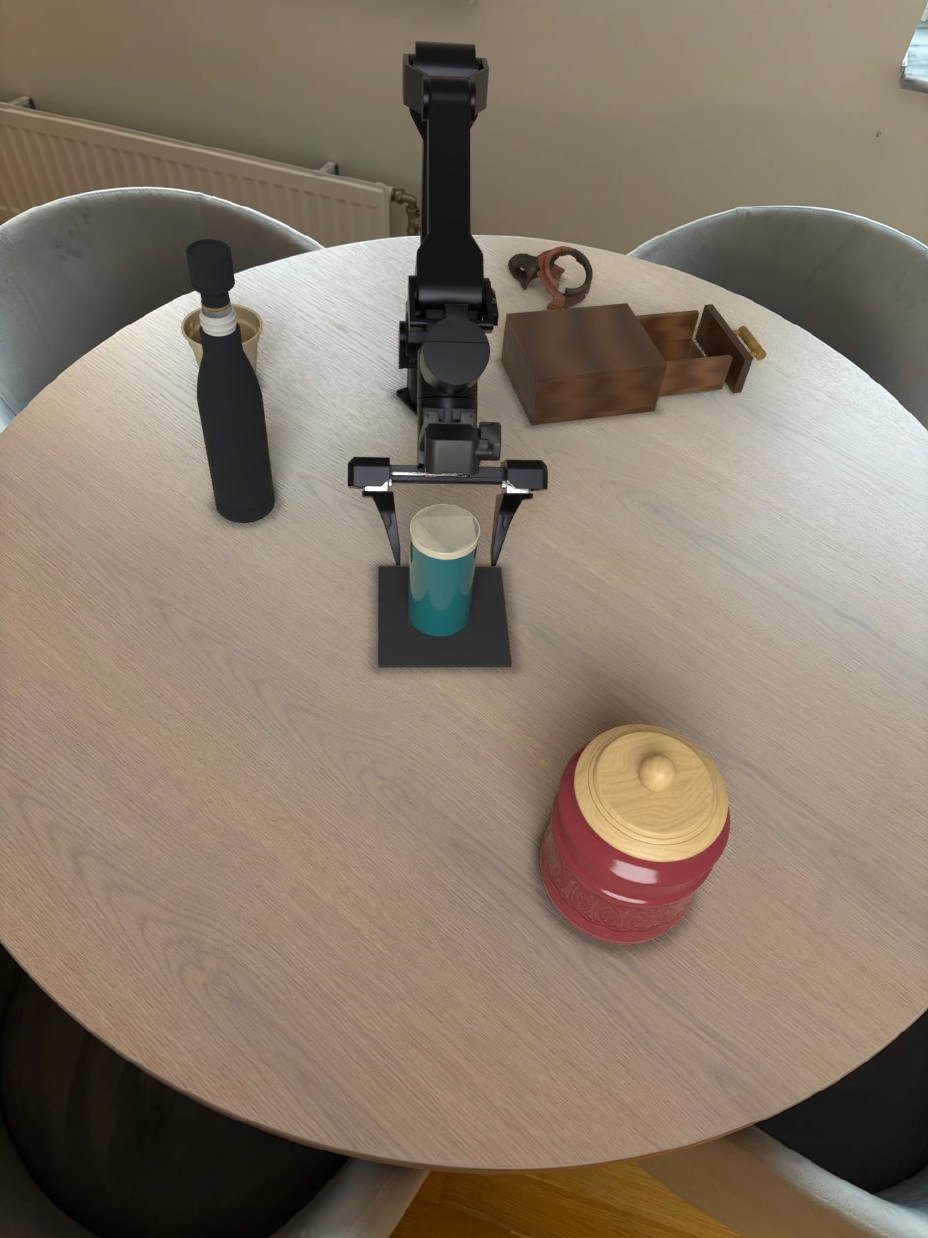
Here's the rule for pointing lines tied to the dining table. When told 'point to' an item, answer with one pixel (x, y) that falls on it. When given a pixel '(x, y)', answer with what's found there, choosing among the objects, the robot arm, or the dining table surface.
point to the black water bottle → (229, 393)
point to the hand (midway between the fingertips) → (445, 565)
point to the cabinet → (581, 363)
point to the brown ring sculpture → (551, 274)
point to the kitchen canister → (633, 833)
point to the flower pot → (248, 326)
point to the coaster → (466, 648)
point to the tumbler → (441, 568)
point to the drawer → (687, 361)
